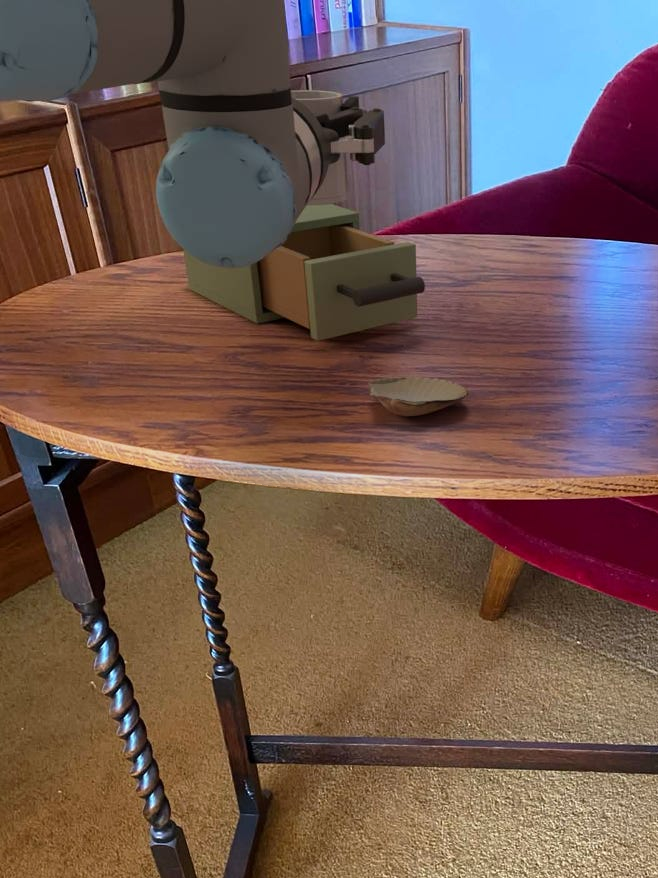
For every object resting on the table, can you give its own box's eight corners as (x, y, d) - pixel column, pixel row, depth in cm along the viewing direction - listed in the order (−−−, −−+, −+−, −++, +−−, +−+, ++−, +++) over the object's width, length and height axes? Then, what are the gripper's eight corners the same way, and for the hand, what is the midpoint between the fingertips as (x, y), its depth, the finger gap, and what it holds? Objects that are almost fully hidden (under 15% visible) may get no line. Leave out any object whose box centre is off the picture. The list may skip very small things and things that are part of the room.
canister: (267, 196, 85) (256, 93, 81) (325, 188, 88) (317, 88, 84) (302, 208, 82) (293, 101, 77) (361, 199, 85) (355, 96, 80)
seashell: (474, 423, 79) (396, 382, 81) (485, 389, 78) (405, 348, 80) (422, 443, 73) (339, 398, 75) (434, 406, 71) (348, 361, 73)
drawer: (444, 328, 91) (444, 253, 87) (343, 353, 85) (337, 274, 81) (341, 285, 102) (336, 217, 98) (244, 305, 96) (235, 233, 92)
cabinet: (364, 300, 100) (359, 212, 95) (257, 324, 94) (245, 230, 89) (291, 270, 109) (283, 188, 104) (189, 289, 103) (175, 203, 98)
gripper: (141, 215, 69) (216, 157, 88) (406, 219, 69) (424, 161, 88) (120, 95, 65) (203, 62, 83) (403, 100, 65) (423, 66, 83)
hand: (317, 113), depth 86 cm, fingers closed on canister, 6 cm apart
